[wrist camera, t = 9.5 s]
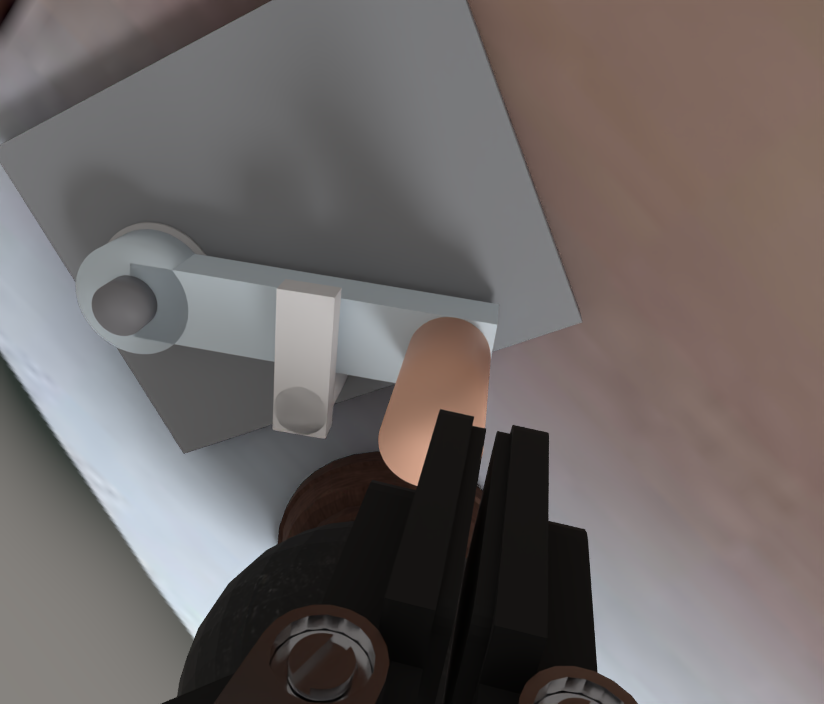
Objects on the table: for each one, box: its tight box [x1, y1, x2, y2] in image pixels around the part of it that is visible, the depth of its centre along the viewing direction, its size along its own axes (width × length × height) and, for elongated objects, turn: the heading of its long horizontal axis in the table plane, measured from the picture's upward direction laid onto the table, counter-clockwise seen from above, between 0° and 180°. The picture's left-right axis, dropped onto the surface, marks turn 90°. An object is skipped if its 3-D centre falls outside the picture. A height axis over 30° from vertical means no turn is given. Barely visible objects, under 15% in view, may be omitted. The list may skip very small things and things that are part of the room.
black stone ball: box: [177, 452, 483, 704], centre depth 27 cm, size 13×13×15 cm
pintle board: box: [0, 0, 582, 454], centre depth 25 cm, size 18×14×5 cm
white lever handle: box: [76, 229, 499, 486], centre depth 24 cm, size 16×4×8 cm, turn 83°
